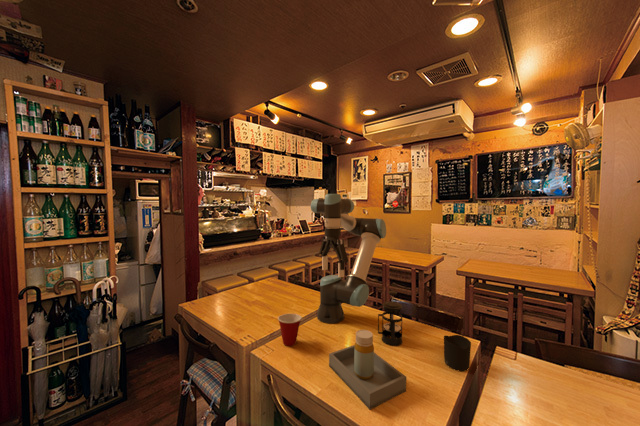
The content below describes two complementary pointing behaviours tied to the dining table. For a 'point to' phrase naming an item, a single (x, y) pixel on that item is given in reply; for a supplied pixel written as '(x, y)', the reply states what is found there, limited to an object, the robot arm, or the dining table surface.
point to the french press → (391, 323)
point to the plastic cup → (289, 328)
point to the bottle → (364, 354)
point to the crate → (372, 390)
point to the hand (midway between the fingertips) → (332, 273)
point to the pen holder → (457, 352)
